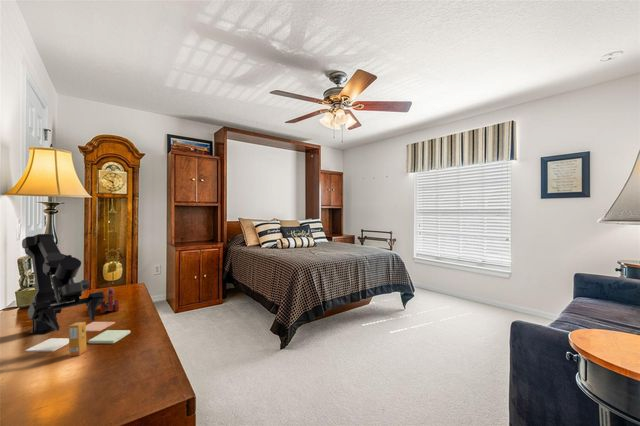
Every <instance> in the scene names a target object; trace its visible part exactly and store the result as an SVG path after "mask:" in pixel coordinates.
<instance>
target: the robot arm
mask: <svg viewBox="0 0 640 426" xmlns="http://www.w3.org/2000/svg"><path fill="white" fill-rule="evenodd" d="M21 247H22V249H24V254H26V256H28V257H29V258H30V259H31V262H32V263H31V264H32V271H33V277H34V285H35V291H36V293H35V294H34V296H33V297H32V300H31V303H30V306H29V308H28V309H27V317H28V318H29V319H30V320H31V321H32V330H31V331H29V332H28V335H30V334H31V335H32V334H33V335H45V334H48V333H51V332H52V331H57V332H58V331H59V330H60V327H61V326H60V325H59V323H58V317H57V314H61V313H62V309H66V308H72V307H76V306H77V307H78V306H81V305H86V307H87V308H86V310H87V313H88V316H89V319H90V321H91V323H92V322H95V315H96V309H97V308H98V307H99V306H101V303H102V301H104V299H105V297H106V295H105V292H104V291H101V290H100V291H94V292H90V293H89V294H88V296H87V297H83V298H81V297H82V296H83V293H82V292H85V290H88V289H89V288H90V287H91V286H90V280H89V279H82V280H81V281H79V282H78V281H77V282H75V280H74V278H75V277H76V276H77V275H78V272H79V270H80V267H81V265H82V261H81V260H80V259H78V258H77V257H73V256H72V254H68V255H67V254H63V253H61V251H60V249H59V247H58V245H57V243H56V242H55V237H54V234H52V233H37V234H35V235H32V236H26V237H25V238H23V239H22V241H21ZM51 276H52V277H51Z"/></svg>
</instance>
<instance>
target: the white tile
mask: <svg viewBox="0 0 640 426" xmlns="http://www.w3.org/2000/svg"><path fill="white" fill-rule="evenodd" d="M66 345H69V337H68V338H67V337H66V338H61V337H59V338H54V337H52V338H51V337H50V338H48V339H46V340H44V341H42V342H40V343H38V344H36V345H34V346H31V347H29V348H27V349H25V352H33V353H34V352H55V351H56V350H59V349H60V348H62V347H65V346H66Z"/></svg>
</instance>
